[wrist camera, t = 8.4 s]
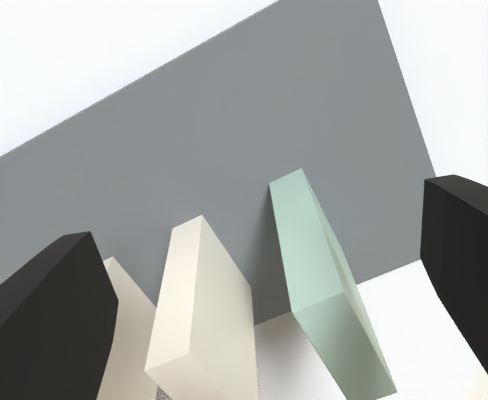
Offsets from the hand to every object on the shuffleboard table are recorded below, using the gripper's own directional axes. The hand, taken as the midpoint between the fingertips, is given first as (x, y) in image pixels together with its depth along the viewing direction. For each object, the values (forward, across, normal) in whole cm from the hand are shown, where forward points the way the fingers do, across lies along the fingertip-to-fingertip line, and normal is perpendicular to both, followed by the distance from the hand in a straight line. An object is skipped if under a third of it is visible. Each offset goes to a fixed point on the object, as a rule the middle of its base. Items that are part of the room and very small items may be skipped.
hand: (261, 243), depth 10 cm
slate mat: (+10, +7, +6) cm, 13 cm away
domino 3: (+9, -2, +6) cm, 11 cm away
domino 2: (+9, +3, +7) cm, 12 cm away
